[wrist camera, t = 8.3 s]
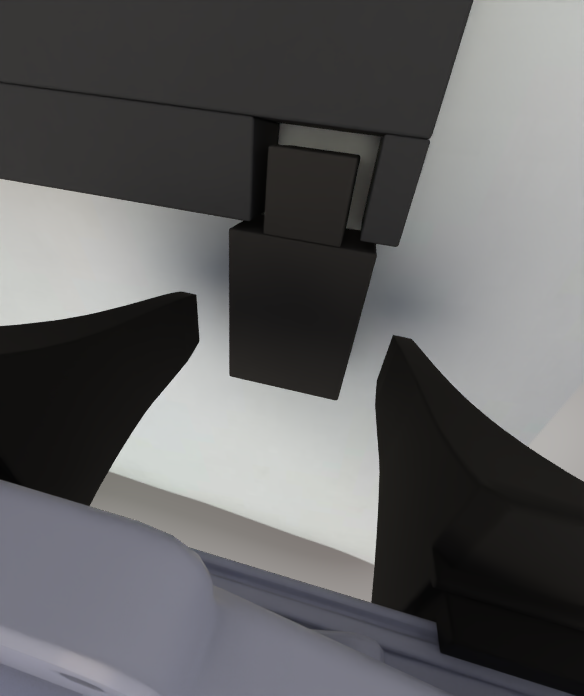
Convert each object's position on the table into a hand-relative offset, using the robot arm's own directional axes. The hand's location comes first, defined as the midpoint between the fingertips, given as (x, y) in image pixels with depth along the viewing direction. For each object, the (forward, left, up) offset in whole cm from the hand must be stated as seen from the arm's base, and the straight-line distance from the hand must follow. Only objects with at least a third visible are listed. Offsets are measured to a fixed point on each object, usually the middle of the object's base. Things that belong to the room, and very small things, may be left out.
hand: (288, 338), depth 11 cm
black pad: (0, -1, -4) cm, 4 cm away
